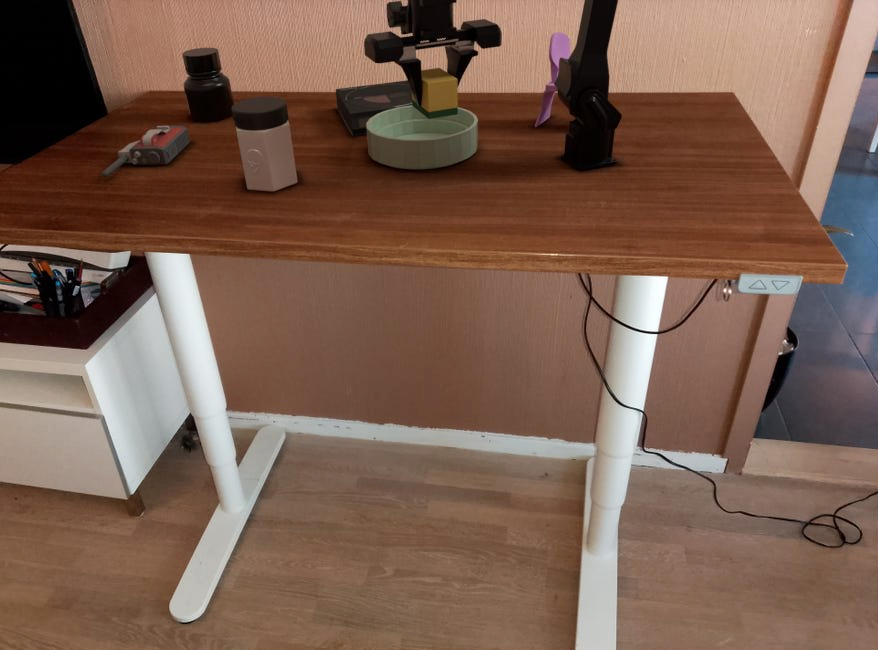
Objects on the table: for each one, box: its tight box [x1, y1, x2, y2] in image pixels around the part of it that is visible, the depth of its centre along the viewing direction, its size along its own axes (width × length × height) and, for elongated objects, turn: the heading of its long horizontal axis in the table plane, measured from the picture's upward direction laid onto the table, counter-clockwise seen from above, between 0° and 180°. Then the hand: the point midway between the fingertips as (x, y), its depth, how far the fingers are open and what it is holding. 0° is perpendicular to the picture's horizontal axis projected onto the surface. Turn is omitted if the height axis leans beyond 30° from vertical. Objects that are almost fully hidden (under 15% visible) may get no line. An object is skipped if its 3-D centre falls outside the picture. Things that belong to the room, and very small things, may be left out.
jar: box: [232, 96, 298, 193], centre depth 110 cm, size 9×8×12 cm
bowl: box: [366, 105, 479, 170], centre depth 119 cm, size 18×18×5 cm
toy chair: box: [534, 31, 571, 128], centre depth 123 cm, size 8×9×15 cm
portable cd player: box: [335, 79, 413, 137], centre depth 135 cm, size 16×17×4 cm
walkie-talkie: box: [101, 125, 191, 178], centre depth 123 cm, size 9×4×20 cm
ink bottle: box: [181, 47, 235, 122], centre depth 140 cm, size 10×9×12 cm
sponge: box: [412, 67, 459, 119], centre depth 105 cm, size 4×7×5 cm, turn 19°
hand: (434, 103), depth 106 cm, fingers closed on sponge, 4 cm apart
